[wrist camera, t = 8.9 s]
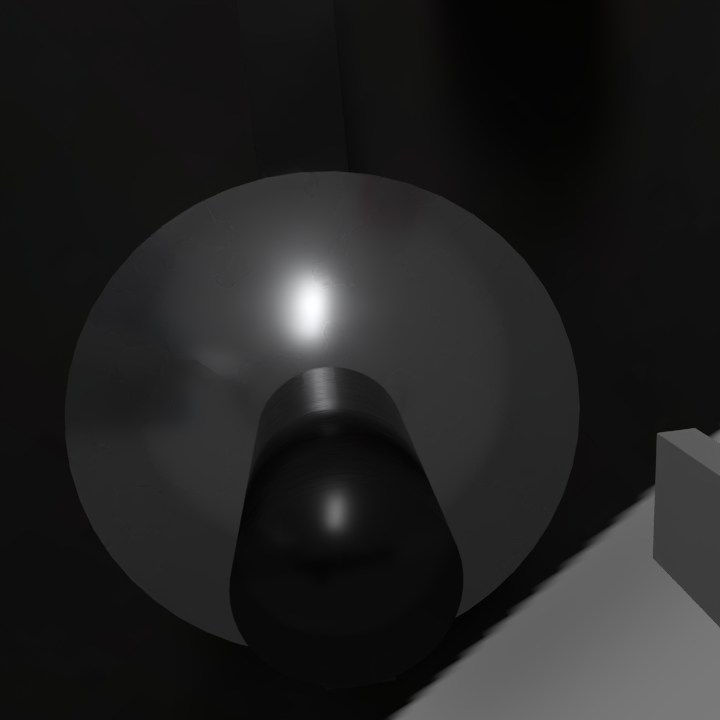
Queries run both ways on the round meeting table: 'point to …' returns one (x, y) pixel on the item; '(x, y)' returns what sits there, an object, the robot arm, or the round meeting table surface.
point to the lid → (322, 419)
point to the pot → (293, 87)
